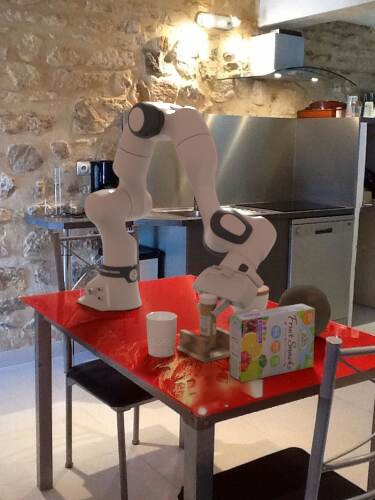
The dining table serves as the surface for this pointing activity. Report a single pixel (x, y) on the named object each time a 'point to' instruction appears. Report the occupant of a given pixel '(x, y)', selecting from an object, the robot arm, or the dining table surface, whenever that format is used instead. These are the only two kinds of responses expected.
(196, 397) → the dining table surface
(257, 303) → the lidded white jar
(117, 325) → the dining table surface
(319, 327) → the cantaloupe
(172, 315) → the white cup
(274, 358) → the snack box
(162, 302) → the dining table surface
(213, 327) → the sprinkles bottle
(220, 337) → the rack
